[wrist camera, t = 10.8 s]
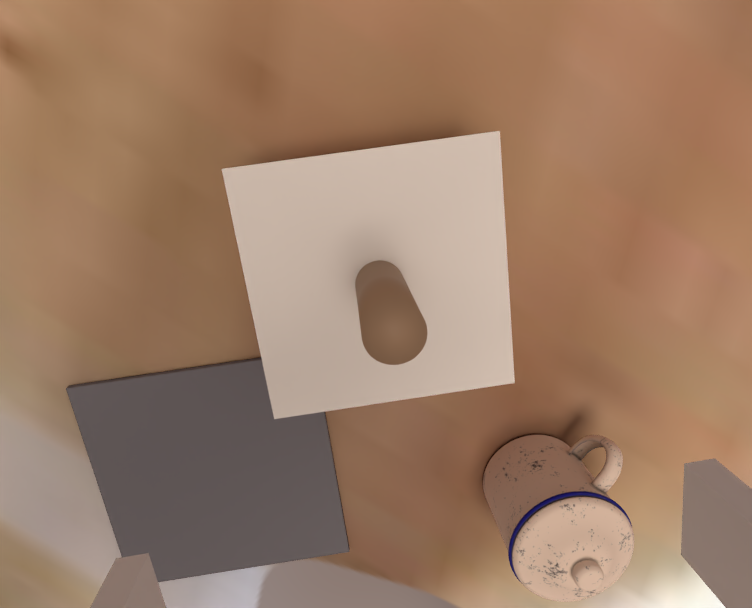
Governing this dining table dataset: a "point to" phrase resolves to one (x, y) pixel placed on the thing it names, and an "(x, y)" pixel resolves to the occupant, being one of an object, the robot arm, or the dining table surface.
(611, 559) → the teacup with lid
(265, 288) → the lid
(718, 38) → the dining table surface
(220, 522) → the mat
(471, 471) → the dining table surface
